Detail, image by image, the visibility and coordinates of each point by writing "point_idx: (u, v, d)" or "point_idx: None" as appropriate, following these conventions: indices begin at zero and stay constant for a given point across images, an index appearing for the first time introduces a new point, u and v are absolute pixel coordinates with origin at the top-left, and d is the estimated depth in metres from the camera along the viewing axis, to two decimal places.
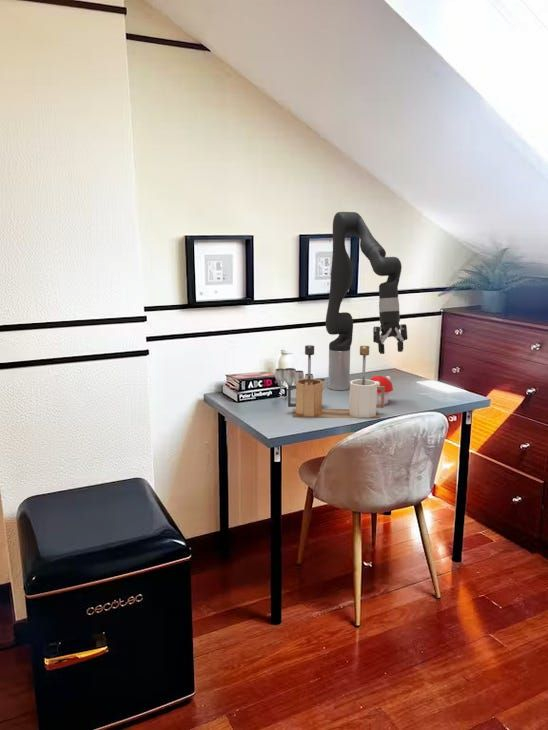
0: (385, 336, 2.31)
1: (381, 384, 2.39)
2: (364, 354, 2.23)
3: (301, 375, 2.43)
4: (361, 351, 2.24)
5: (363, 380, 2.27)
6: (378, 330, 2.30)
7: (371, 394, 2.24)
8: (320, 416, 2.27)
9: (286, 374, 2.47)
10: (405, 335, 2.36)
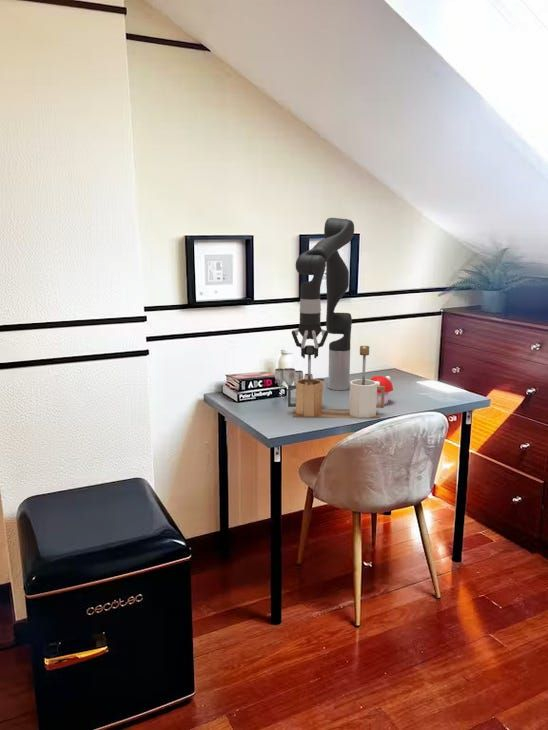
0: (303, 340, 2.23)
1: (381, 384, 2.39)
2: (364, 354, 2.23)
3: (300, 375, 2.44)
4: (361, 351, 2.24)
5: (363, 380, 2.27)
6: (294, 335, 2.23)
7: (371, 394, 2.24)
8: (320, 416, 2.27)
9: (285, 374, 2.48)
10: (322, 342, 2.23)
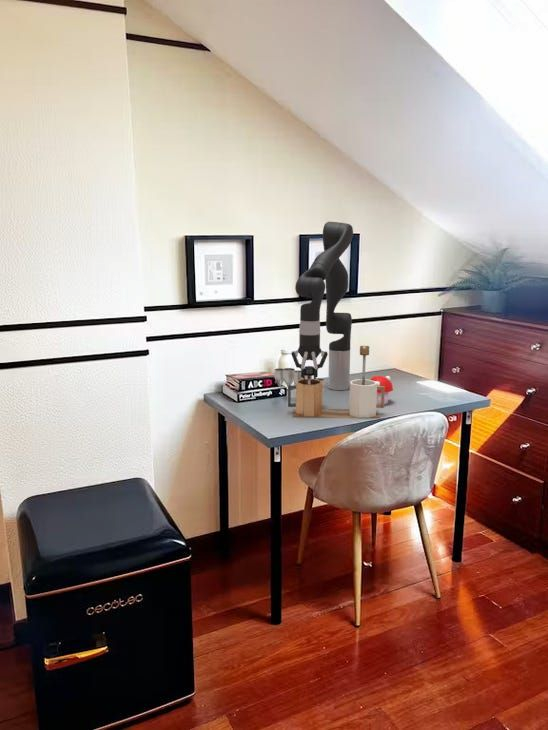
0: (303, 361, 2.25)
1: (381, 384, 2.39)
2: (364, 354, 2.23)
3: (300, 375, 2.44)
4: (361, 351, 2.24)
5: (363, 380, 2.27)
6: (293, 356, 2.25)
7: (371, 394, 2.24)
8: (320, 416, 2.27)
9: (285, 374, 2.48)
10: (321, 363, 2.25)
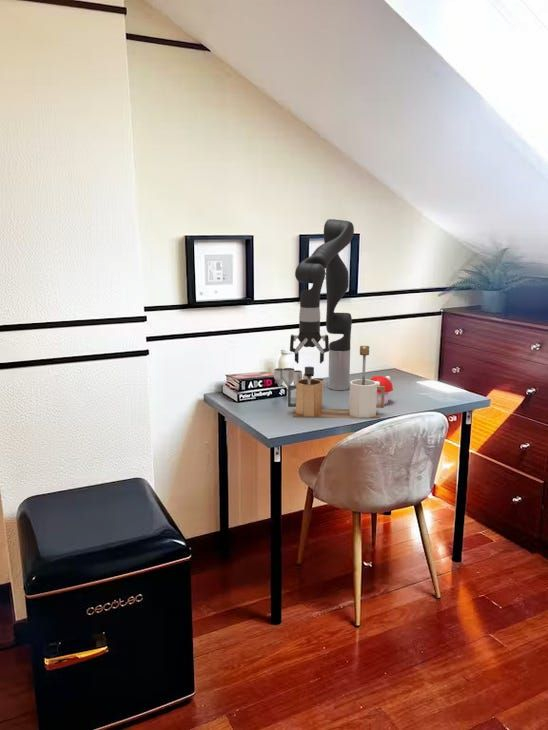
0: (299, 346, 2.23)
1: (381, 384, 2.39)
2: (364, 354, 2.23)
3: (299, 375, 2.44)
4: (361, 351, 2.24)
5: (363, 380, 2.27)
6: (292, 339, 2.23)
7: (371, 394, 2.24)
8: (320, 416, 2.27)
9: (284, 374, 2.48)
10: (326, 347, 2.24)
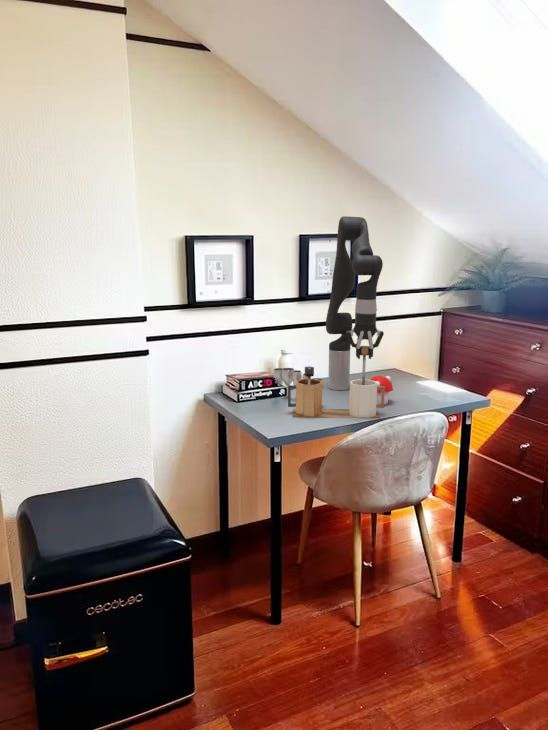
0: (358, 341, 2.22)
1: (381, 384, 2.39)
2: (364, 354, 2.23)
3: (299, 375, 2.44)
4: (361, 351, 2.24)
5: (363, 380, 2.27)
6: (349, 335, 2.22)
7: (371, 394, 2.24)
8: (320, 416, 2.27)
9: (284, 374, 2.48)
10: (377, 342, 2.23)
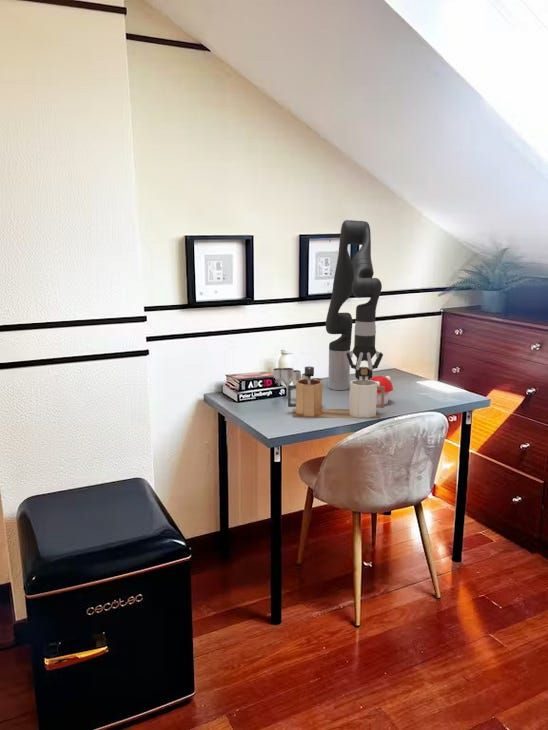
0: (358, 362, 2.24)
1: (381, 384, 2.39)
2: (363, 375, 2.25)
3: (298, 375, 2.44)
4: (360, 372, 2.25)
5: None
6: (348, 356, 2.24)
7: (371, 394, 2.24)
8: (320, 416, 2.27)
9: (283, 374, 2.48)
10: (376, 364, 2.24)
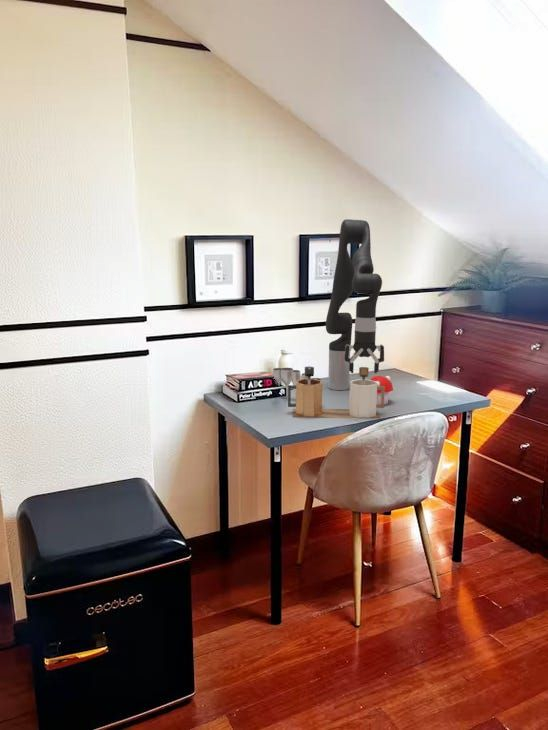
0: (354, 356, 2.23)
1: (381, 384, 2.39)
2: (363, 375, 2.25)
3: (298, 375, 2.44)
4: (360, 372, 2.25)
5: None
6: (347, 349, 2.24)
7: (371, 394, 2.24)
8: (320, 416, 2.27)
9: (283, 374, 2.48)
10: (381, 357, 2.24)
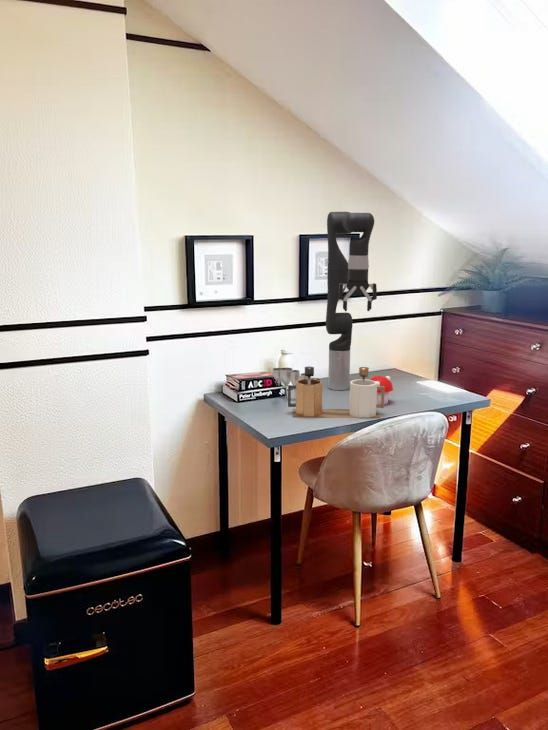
0: (348, 294, 2.31)
1: (381, 384, 2.39)
2: (363, 375, 2.25)
3: (297, 375, 2.44)
4: (360, 372, 2.25)
5: None
6: (341, 287, 2.31)
7: (371, 394, 2.24)
8: (320, 416, 2.27)
9: (282, 374, 2.49)
10: (374, 295, 2.31)
